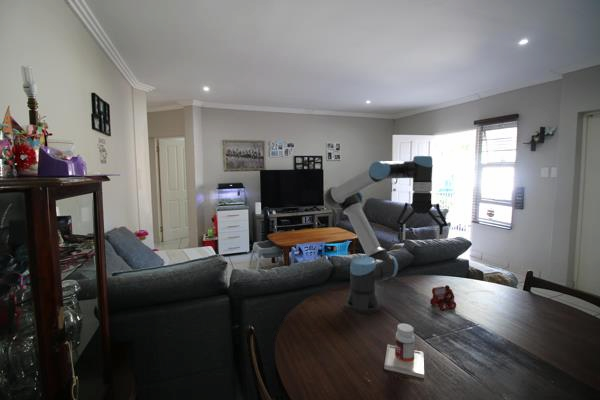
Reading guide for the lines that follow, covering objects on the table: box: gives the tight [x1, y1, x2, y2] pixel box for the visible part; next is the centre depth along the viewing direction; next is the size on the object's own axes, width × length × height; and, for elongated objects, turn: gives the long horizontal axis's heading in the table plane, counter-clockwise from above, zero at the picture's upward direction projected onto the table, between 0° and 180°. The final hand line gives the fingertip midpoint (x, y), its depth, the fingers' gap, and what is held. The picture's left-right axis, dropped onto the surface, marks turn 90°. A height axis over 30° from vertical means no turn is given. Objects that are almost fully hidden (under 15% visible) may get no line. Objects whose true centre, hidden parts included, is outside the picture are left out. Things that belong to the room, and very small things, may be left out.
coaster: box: [383, 344, 425, 379], centre depth 96 cm, size 12×12×1 cm
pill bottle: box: [394, 323, 416, 364], centre depth 96 cm, size 6×6×11 cm
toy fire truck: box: [429, 284, 457, 312], centre depth 134 cm, size 7×12×10 cm, turn 108°
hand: (420, 240), depth 123 cm, fingers open, 13 cm apart
